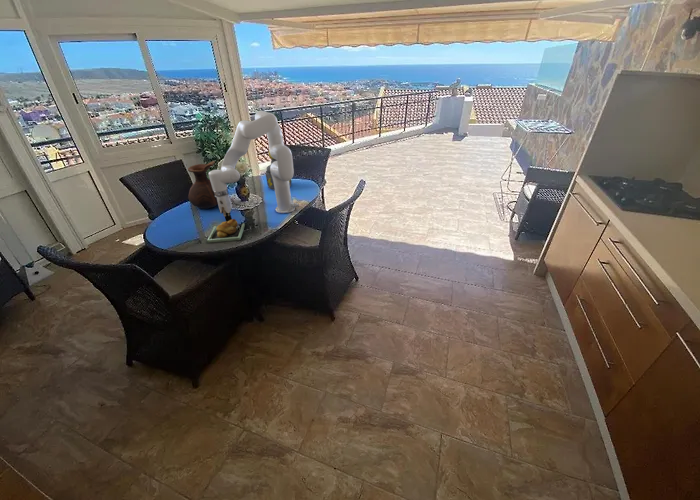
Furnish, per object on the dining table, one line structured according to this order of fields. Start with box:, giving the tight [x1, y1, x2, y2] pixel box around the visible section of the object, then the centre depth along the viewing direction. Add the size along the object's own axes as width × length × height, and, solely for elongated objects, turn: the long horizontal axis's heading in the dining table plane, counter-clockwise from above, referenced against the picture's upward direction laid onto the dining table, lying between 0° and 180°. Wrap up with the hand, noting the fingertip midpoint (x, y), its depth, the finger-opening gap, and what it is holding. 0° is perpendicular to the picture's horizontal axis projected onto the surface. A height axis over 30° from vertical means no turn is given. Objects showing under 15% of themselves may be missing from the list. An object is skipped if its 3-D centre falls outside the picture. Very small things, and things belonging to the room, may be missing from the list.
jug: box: [187, 160, 218, 210], centre depth 194 cm, size 22×22×30 cm
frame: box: [206, 222, 246, 244], centre depth 168 cm, size 17×17×2 cm
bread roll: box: [216, 218, 239, 238], centre depth 166 cm, size 13×10×8 cm
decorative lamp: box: [265, 150, 292, 191], centre depth 221 cm, size 19×19×30 cm
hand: (229, 221), depth 174 cm, fingers closed
